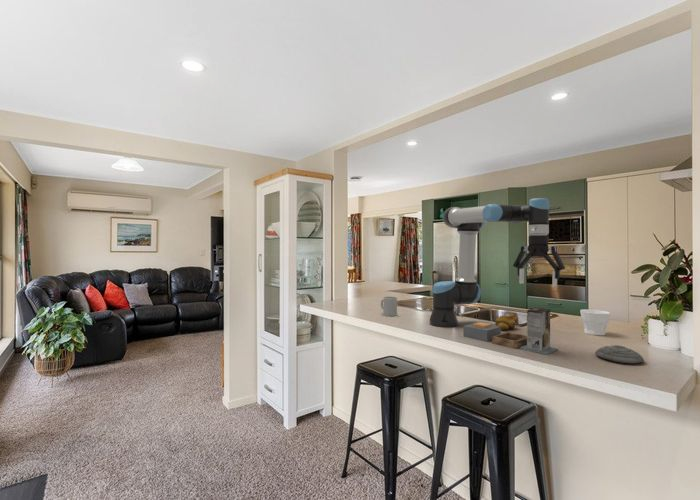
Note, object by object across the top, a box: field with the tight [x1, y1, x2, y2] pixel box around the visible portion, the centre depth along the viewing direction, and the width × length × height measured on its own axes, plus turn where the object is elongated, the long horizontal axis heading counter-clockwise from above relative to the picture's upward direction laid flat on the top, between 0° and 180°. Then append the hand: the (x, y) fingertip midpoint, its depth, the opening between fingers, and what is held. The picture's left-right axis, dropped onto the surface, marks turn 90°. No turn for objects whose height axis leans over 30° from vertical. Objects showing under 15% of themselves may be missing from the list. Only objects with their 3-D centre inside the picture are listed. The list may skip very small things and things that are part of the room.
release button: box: [472, 321, 492, 328], centre depth 170 cm, size 6×6×5 cm
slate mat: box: [518, 345, 559, 356], centre depth 150 cm, size 11×11×1 cm
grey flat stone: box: [594, 344, 645, 364], centre depth 138 cm, size 15×15×6 cm
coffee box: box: [526, 307, 551, 351], centre depth 150 cm, size 9×6×16 cm
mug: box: [380, 296, 398, 317], centre depth 224 cm, size 12×8×11 cm
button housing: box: [463, 323, 502, 342], centre depth 170 cm, size 12×12×5 cm
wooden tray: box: [491, 331, 527, 350], centre depth 159 cm, size 11×14×3 cm
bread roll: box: [494, 313, 519, 331], centre depth 188 cm, size 13×10×8 cm
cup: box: [579, 308, 611, 336], centre depth 178 cm, size 12×12×11 cm
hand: (537, 285), depth 152 cm, fingers open, 13 cm apart
